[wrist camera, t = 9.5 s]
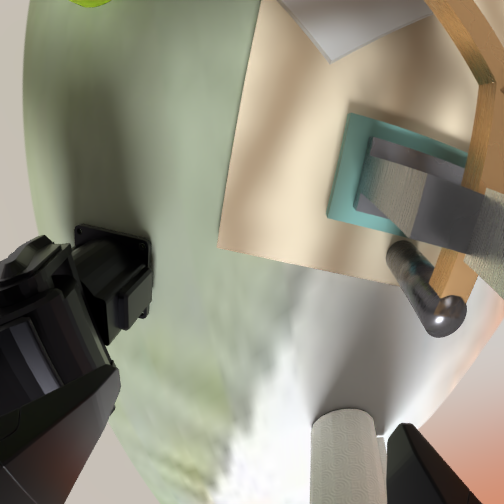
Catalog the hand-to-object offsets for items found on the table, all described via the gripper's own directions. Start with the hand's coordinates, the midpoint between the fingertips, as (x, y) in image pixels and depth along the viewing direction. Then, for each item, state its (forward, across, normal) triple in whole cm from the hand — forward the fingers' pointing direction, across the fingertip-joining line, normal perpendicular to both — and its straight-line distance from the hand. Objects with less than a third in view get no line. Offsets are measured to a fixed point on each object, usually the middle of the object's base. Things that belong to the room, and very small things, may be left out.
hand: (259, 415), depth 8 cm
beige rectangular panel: (+13, -4, -12) cm, 18 cm away
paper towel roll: (+13, -10, +16) cm, 23 cm away
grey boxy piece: (+11, -7, -6) cm, 15 cm away
